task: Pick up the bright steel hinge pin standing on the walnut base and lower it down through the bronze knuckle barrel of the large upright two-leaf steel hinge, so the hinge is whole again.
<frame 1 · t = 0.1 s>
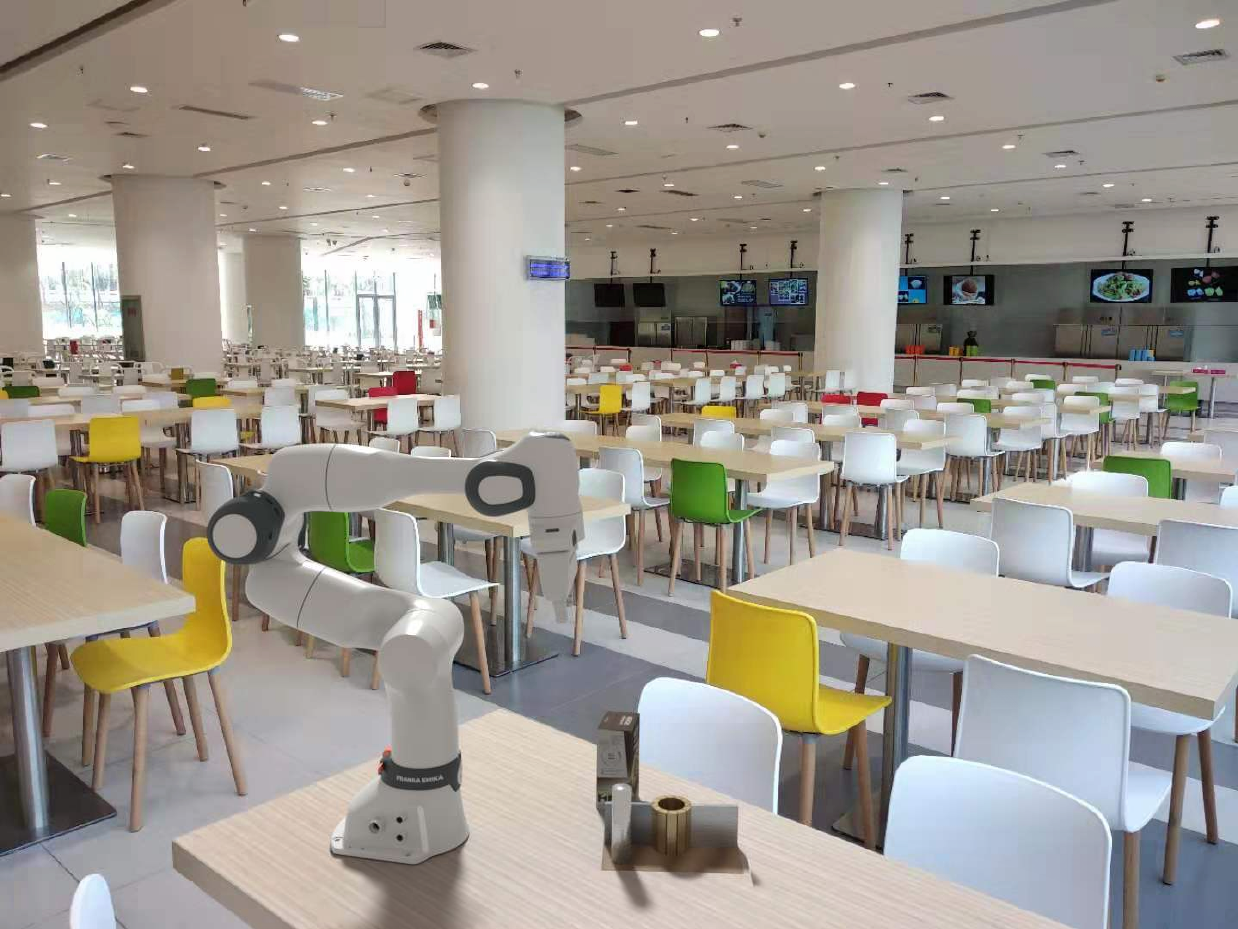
hand: (565, 613, 156), 39 cm above the table, tool pointing down, fingers open, 8 cm apart
hinge: (670, 845, 156), resting on walnut base
coffee box: (617, 807, 172), on the table
walnut base: (670, 860, 154), on the table
hinge pin: (620, 860, 151), point 1 cm above the table, touching walnut base
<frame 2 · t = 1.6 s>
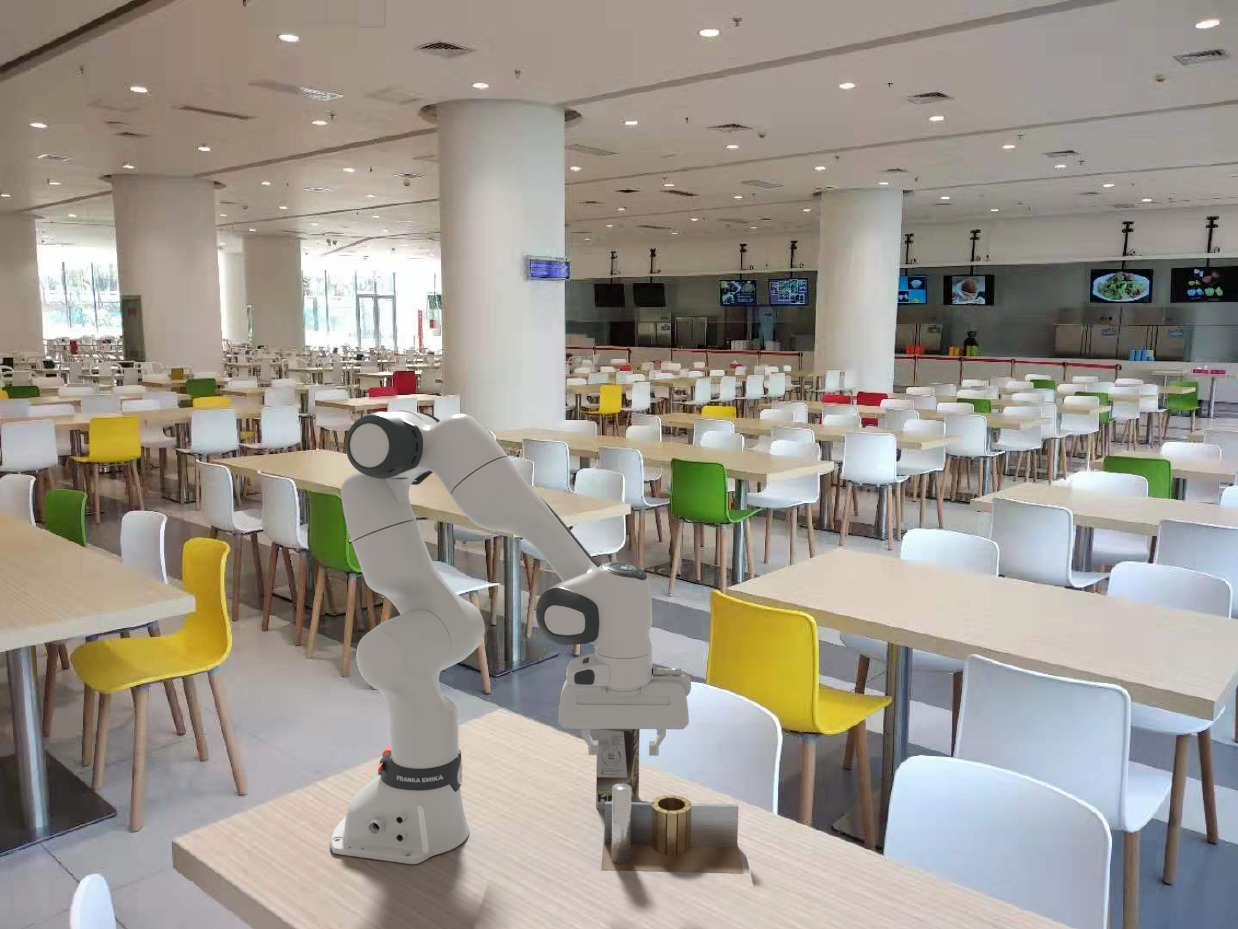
hand: (623, 754, 149), 19 cm above the table, tool pointing down, fingers open, 8 cm apart
nothing on the table moved.
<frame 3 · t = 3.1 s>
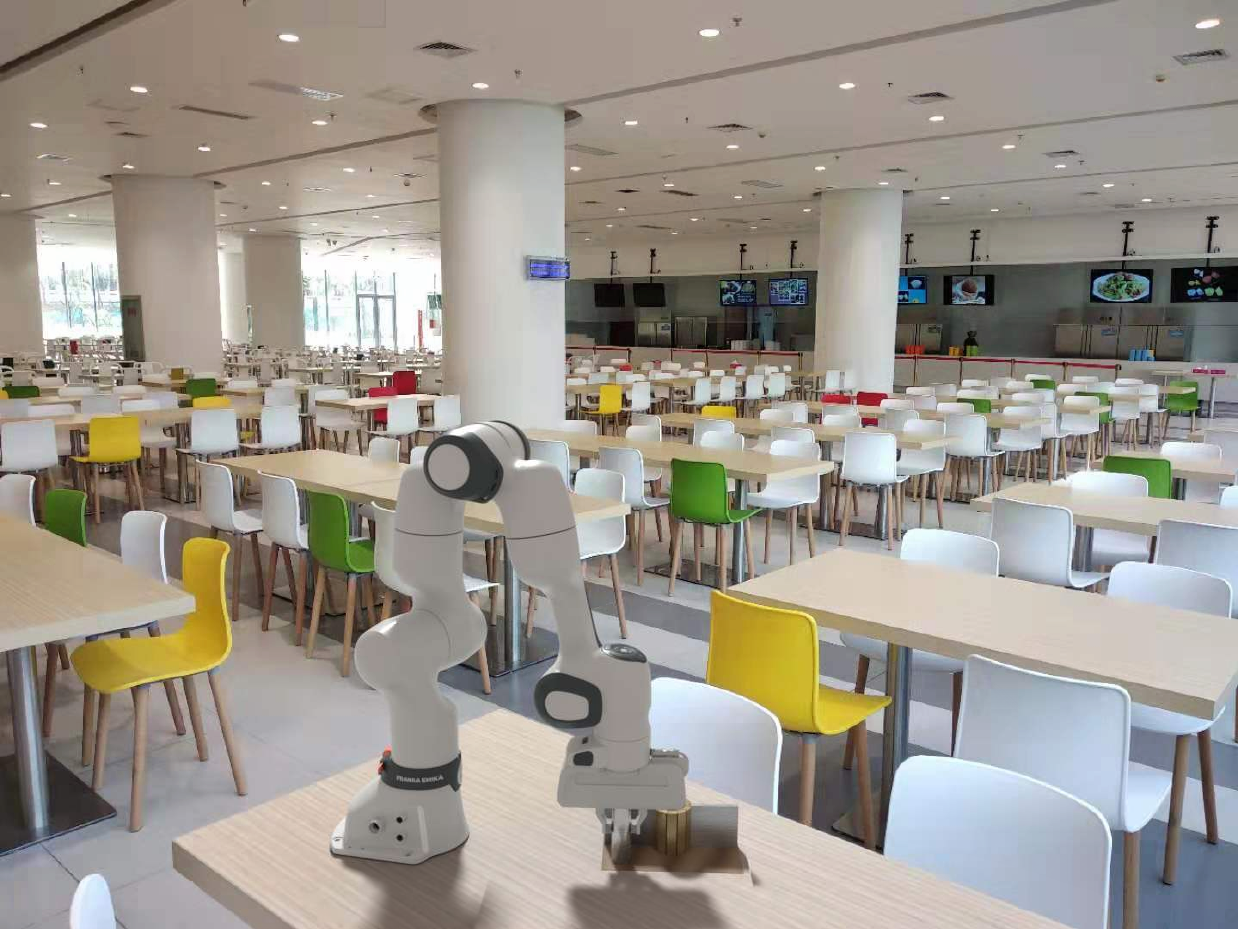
hand: (621, 832, 150), 6 cm above the table, tool pointing down, fingers closed on hinge pin, 3 cm apart
hinge pin: (620, 860, 151), point 1 cm above the table, touching gripper, walnut base
everything else where it was.
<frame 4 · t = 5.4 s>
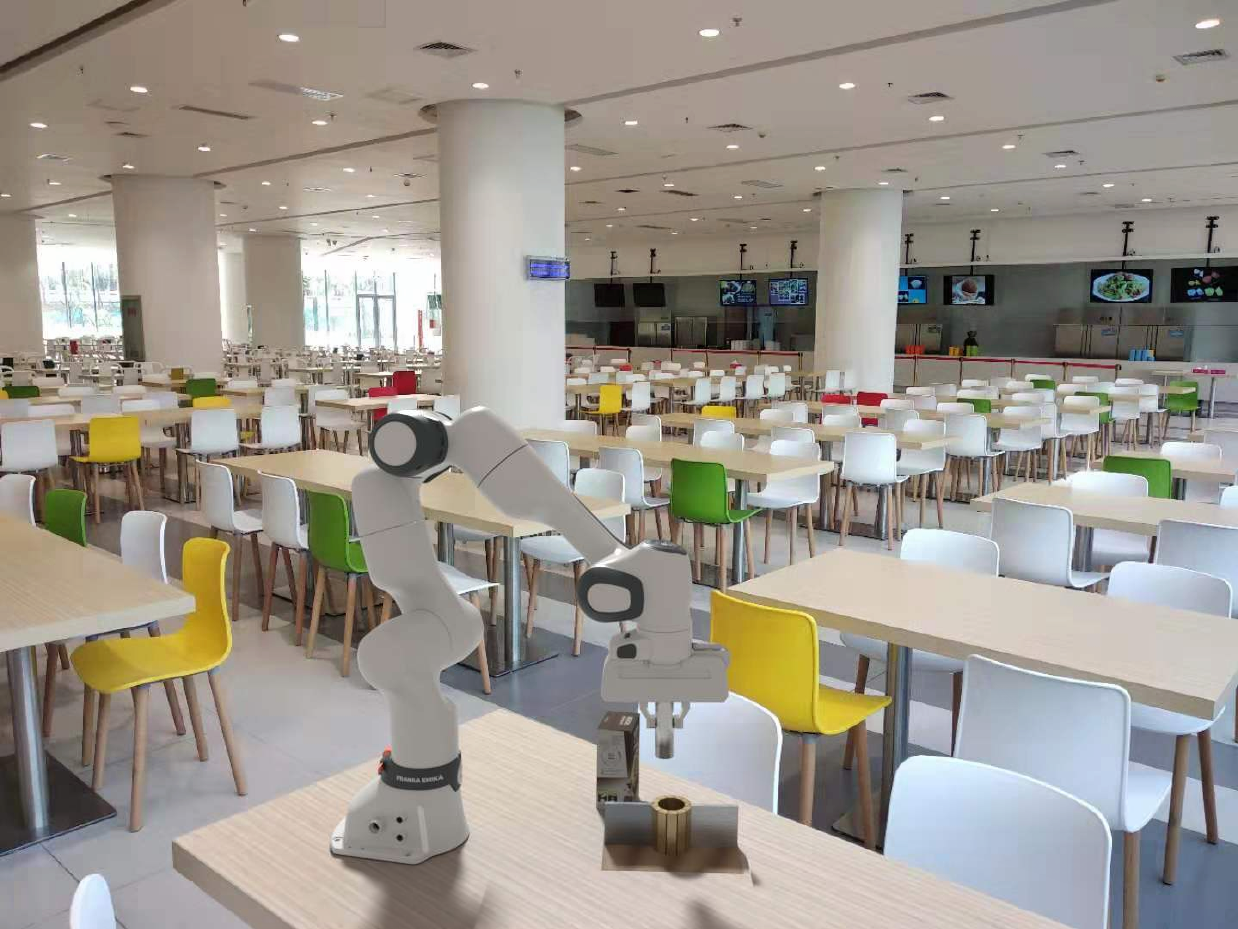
hand: (664, 727, 152), 22 cm above the table, tool pointing down, fingers closed on hinge pin, 3 cm apart
hinge pin: (664, 755, 152), point 17 cm above the table, touching gripper
everything else where it was.
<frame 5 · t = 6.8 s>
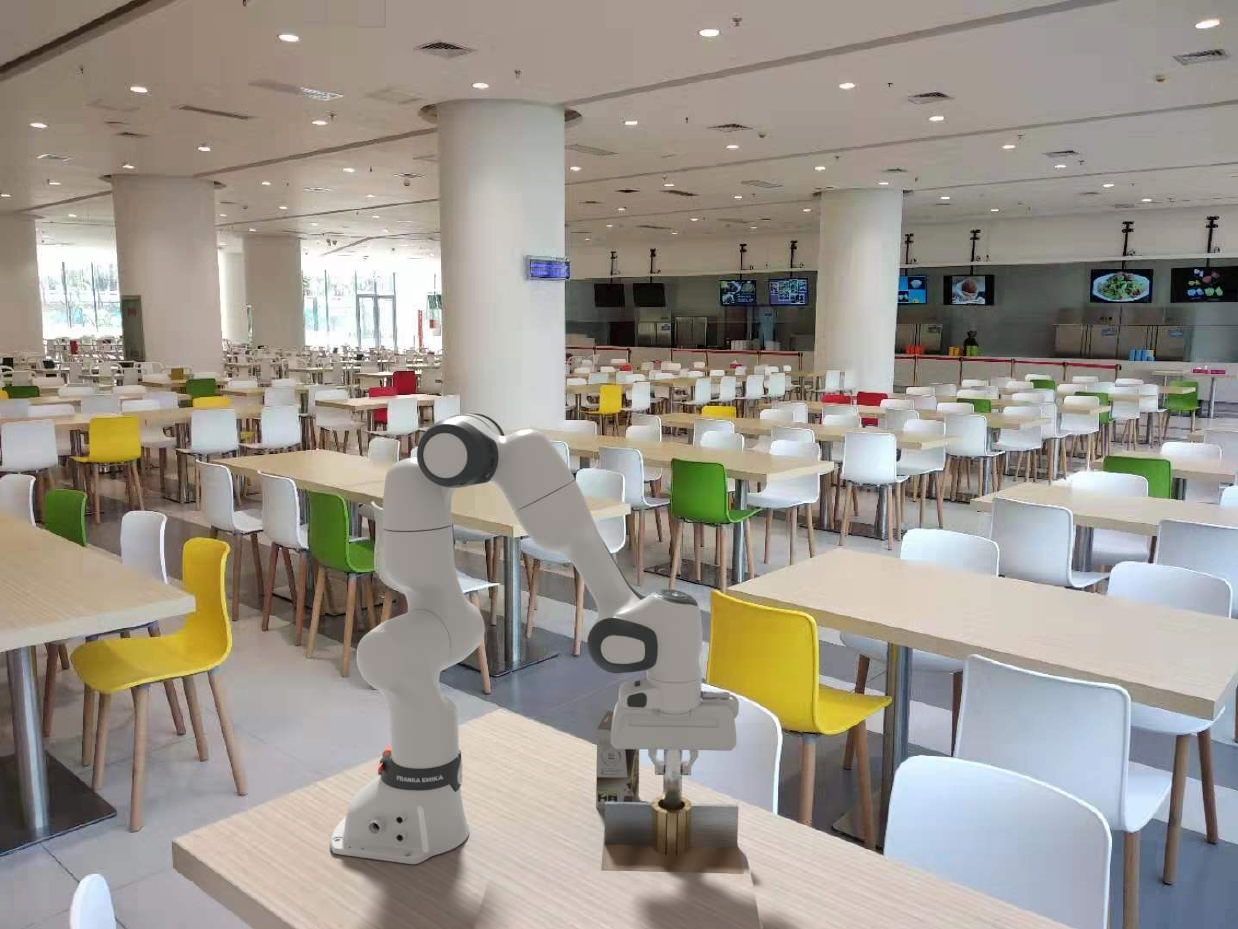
hand: (672, 773, 154), 14 cm above the table, tool pointing down, fingers closed on hinge pin, 3 cm apart
hinge pin: (672, 801, 155), point 9 cm above the table, touching gripper
everything else where it was.
when the fingers open (11 cm above the table, at t = 7.6 s): hinge pin drops 4 cm, resting on walnut base.
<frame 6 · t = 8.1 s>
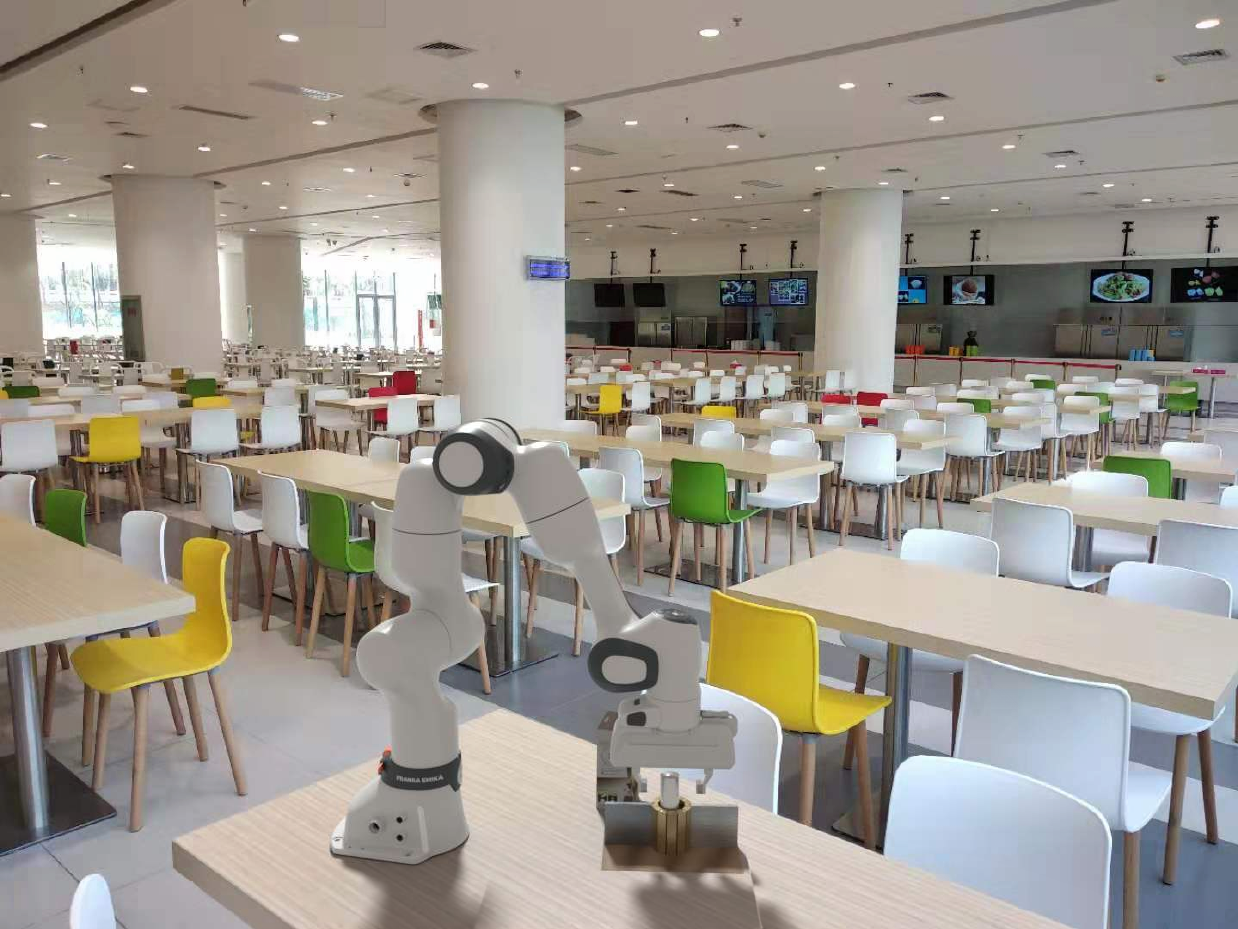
hand: (671, 792, 155), 11 cm above the table, tool pointing down, fingers open, 8 cm apart
hinge pin: (669, 845, 156), point 2 cm above the table, touching walnut base
everything else where it was.
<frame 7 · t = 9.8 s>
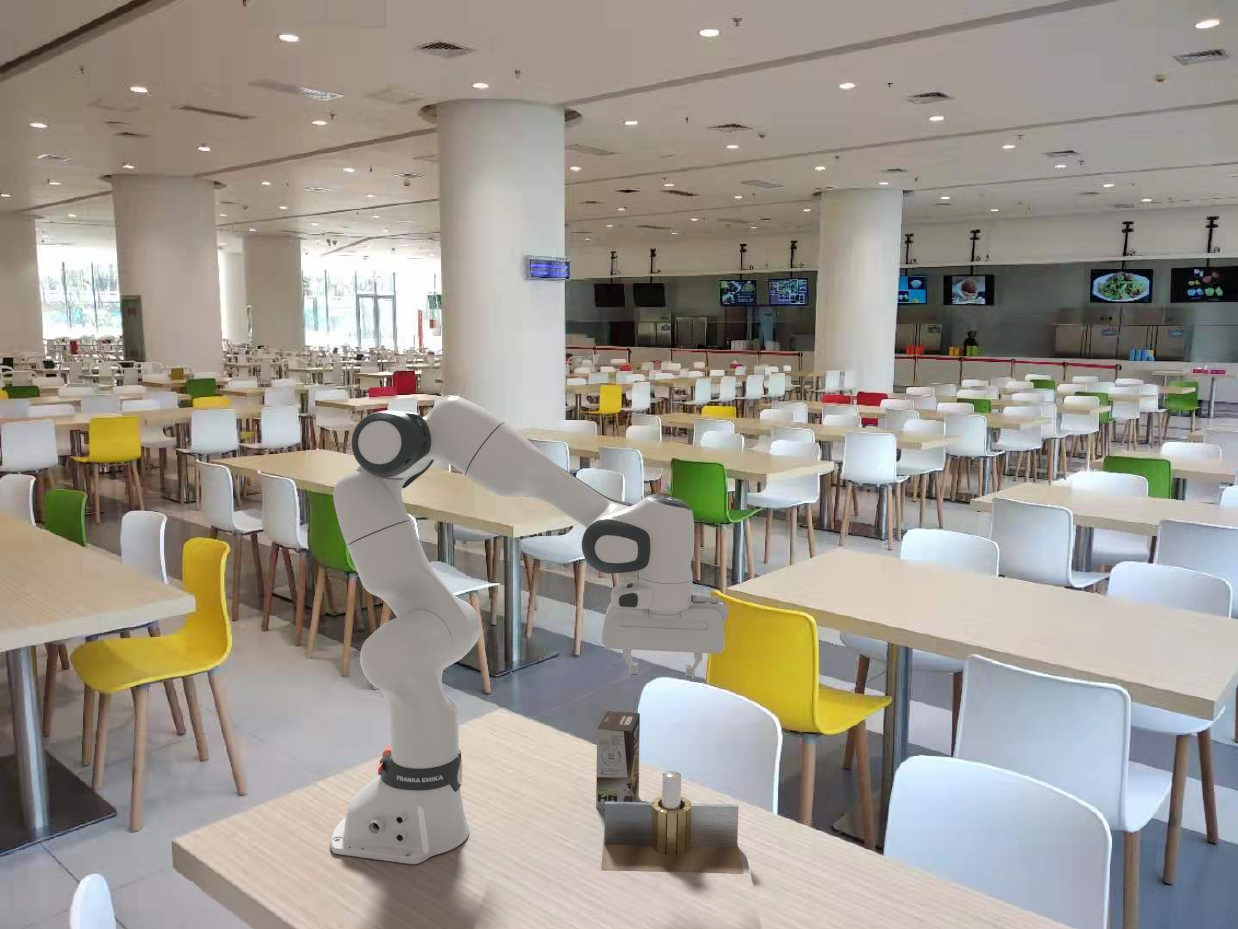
hand: (661, 675, 158), 28 cm above the table, tool pointing down, fingers open, 8 cm apart
nothing on the table moved.
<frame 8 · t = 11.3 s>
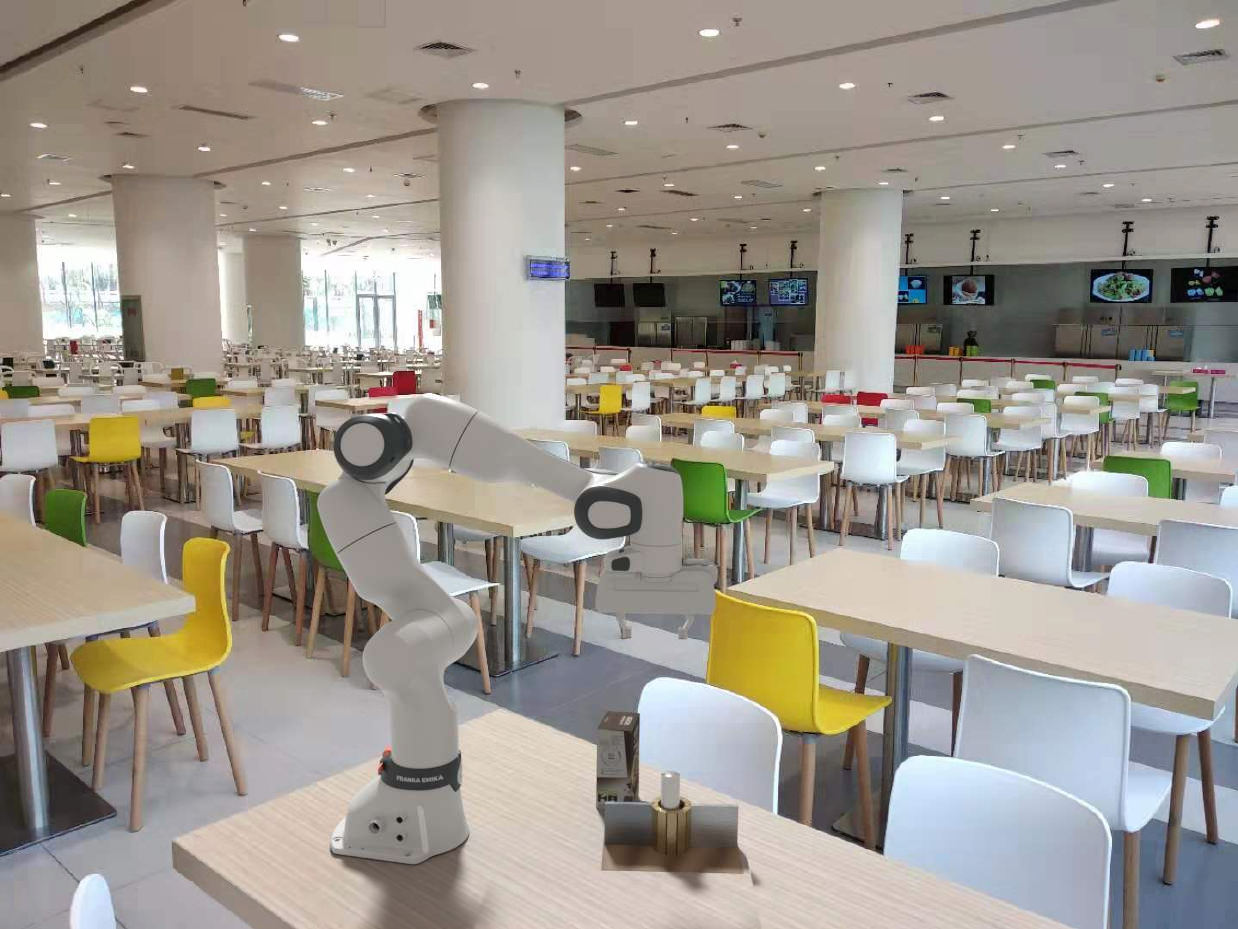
hand: (654, 638, 162), 33 cm above the table, tool pointing down, fingers open, 8 cm apart
nothing on the table moved.
at the end: hinge pin 0.2 cm off-centre on the hinge, point 0.0 cm above the hinge's base; hinge pin tilted 1°; the gripper is holding nothing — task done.
